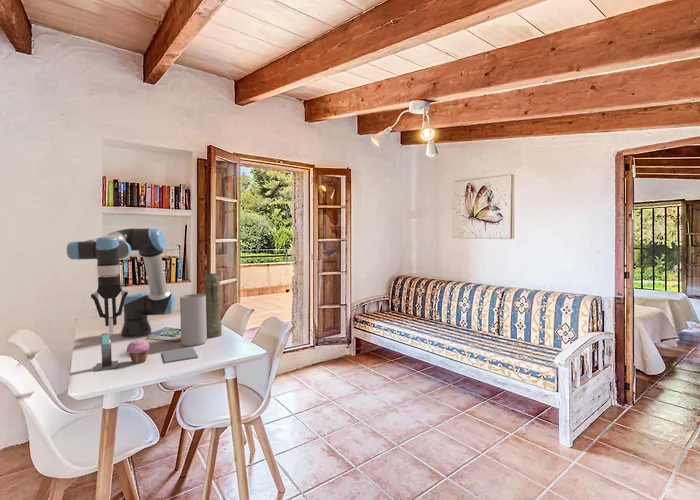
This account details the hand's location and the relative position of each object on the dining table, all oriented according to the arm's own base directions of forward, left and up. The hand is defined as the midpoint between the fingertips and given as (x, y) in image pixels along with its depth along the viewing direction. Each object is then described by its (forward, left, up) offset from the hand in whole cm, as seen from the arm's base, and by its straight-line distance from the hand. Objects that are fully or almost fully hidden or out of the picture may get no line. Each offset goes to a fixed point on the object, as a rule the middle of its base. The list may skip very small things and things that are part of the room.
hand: (111, 333), depth 152 cm
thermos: (-41, +47, -18) cm, 65 cm away
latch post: (-14, -3, -18) cm, 22 cm away
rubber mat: (-14, +26, -18) cm, 35 cm away
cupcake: (-14, +9, -18) cm, 24 cm away
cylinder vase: (-32, +35, -18) cm, 51 cm away
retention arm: (-6, -2, -5) cm, 8 cm away
